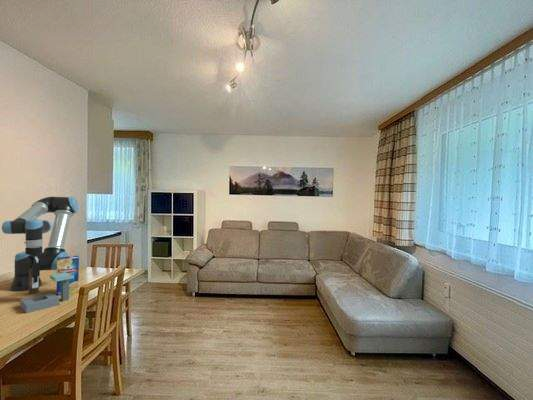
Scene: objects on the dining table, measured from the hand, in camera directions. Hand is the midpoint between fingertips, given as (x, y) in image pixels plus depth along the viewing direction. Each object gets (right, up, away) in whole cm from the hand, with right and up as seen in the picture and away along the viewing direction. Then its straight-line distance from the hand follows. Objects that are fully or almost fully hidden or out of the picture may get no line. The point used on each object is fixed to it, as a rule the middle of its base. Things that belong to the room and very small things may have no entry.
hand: (33, 286), depth 158 cm
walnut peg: (0, -4, 0) cm, 4 cm away
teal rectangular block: (+16, -8, -1) cm, 18 cm away
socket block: (+10, -8, -8) cm, 15 cm away
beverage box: (+11, -8, +12) cm, 18 cm away
